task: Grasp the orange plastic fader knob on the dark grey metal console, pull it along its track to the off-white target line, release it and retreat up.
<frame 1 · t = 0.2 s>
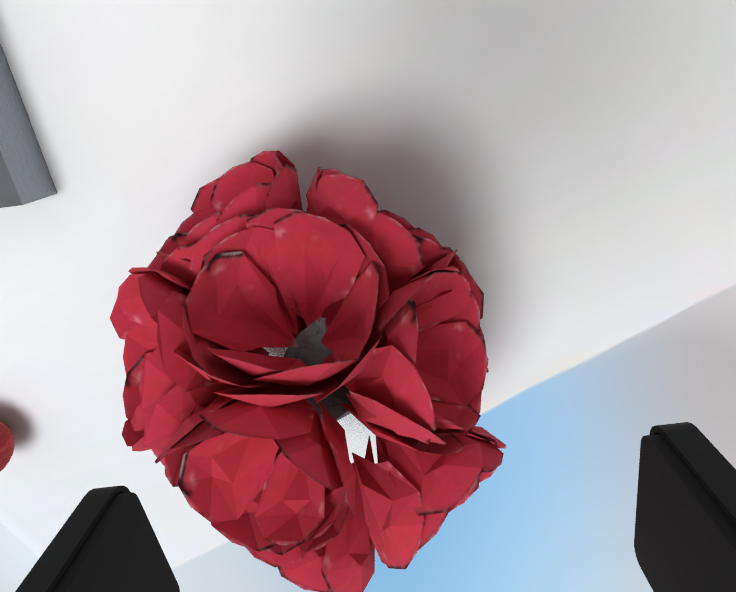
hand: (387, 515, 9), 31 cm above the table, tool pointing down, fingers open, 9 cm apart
onion: (4, 423, 48), on the table
bouquet: (345, 312, 42), on the table
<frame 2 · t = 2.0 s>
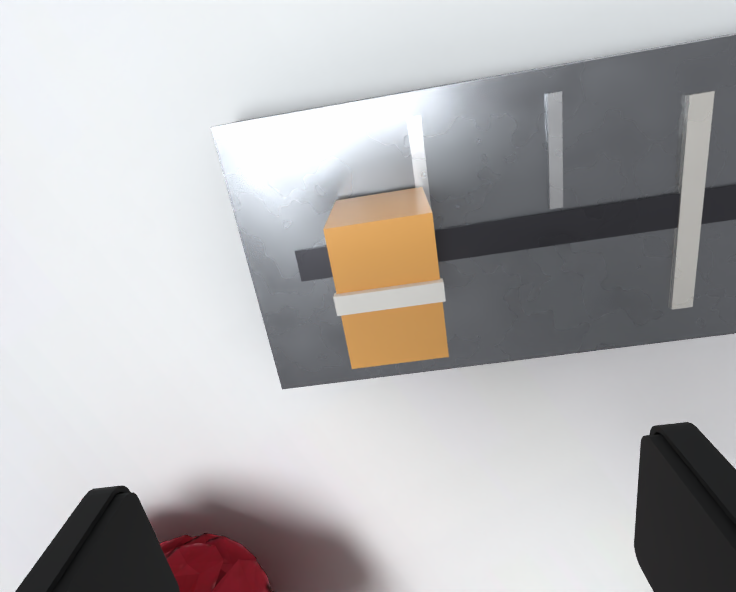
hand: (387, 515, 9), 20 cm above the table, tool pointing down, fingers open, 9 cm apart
fader knob: (388, 274, 21), point 7 cm above the table, slide at 8.0 cm
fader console: (531, 208, 27), on the table
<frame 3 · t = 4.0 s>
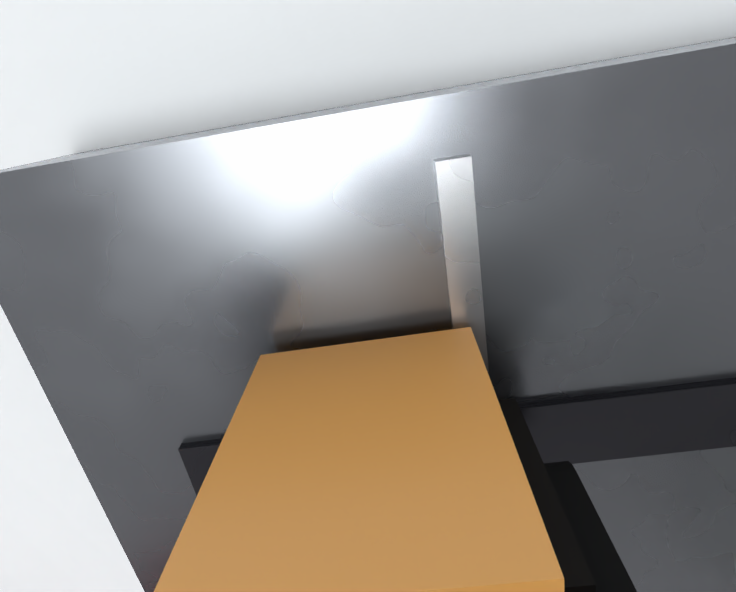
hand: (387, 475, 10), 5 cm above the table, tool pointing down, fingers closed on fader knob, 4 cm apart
fader knob: (389, 582, 8), point 7 cm above the table, slide at 8.0 cm, touching gripper
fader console: (666, 320, 14), on the table
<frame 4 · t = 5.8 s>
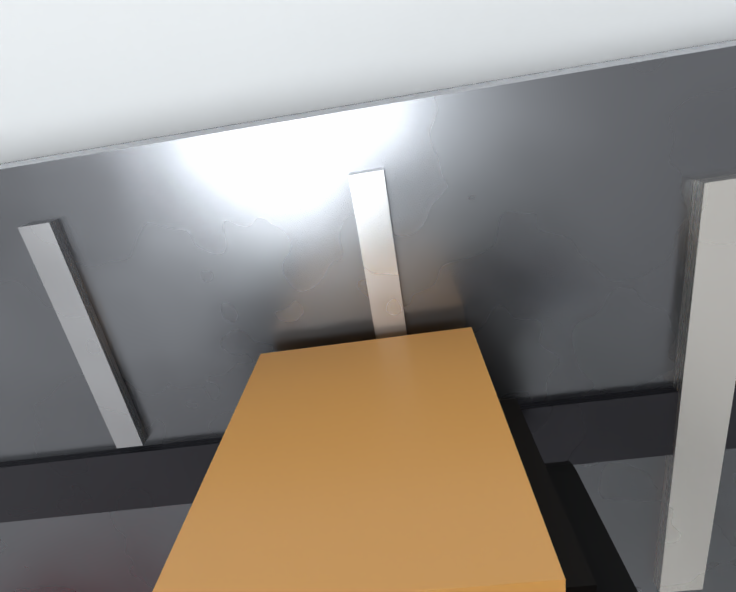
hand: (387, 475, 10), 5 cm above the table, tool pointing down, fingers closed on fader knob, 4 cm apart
fader knob: (388, 582, 8), point 7 cm above the table, slide at 0.5 cm, touching gripper
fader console: (402, 354, 14), on the table
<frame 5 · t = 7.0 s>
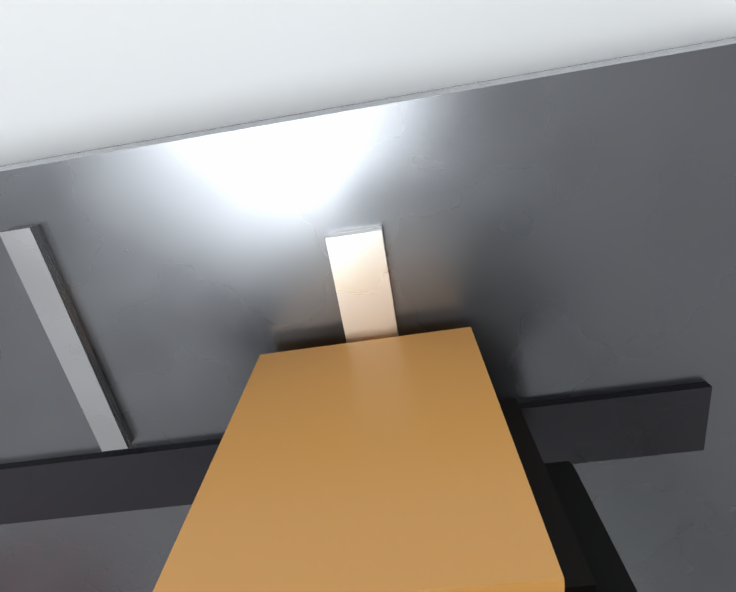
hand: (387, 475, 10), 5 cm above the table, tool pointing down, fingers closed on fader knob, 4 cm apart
fader knob: (388, 582, 8), point 7 cm above the table, slide at -5.9 cm, touching gripper
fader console: (196, 380, 15), on the table
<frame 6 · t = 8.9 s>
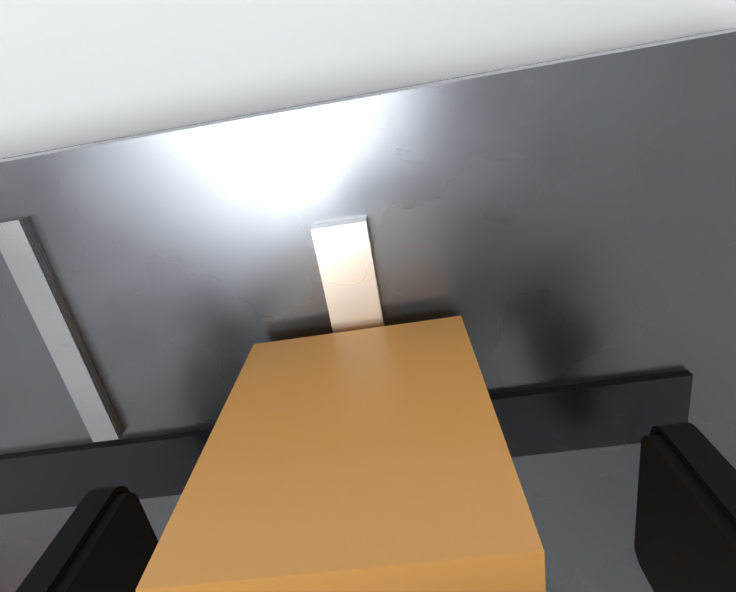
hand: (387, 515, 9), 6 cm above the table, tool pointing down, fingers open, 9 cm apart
fader knob: (380, 565, 8), point 7 cm above the table, slide at -6.0 cm
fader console: (188, 374, 15), on the table
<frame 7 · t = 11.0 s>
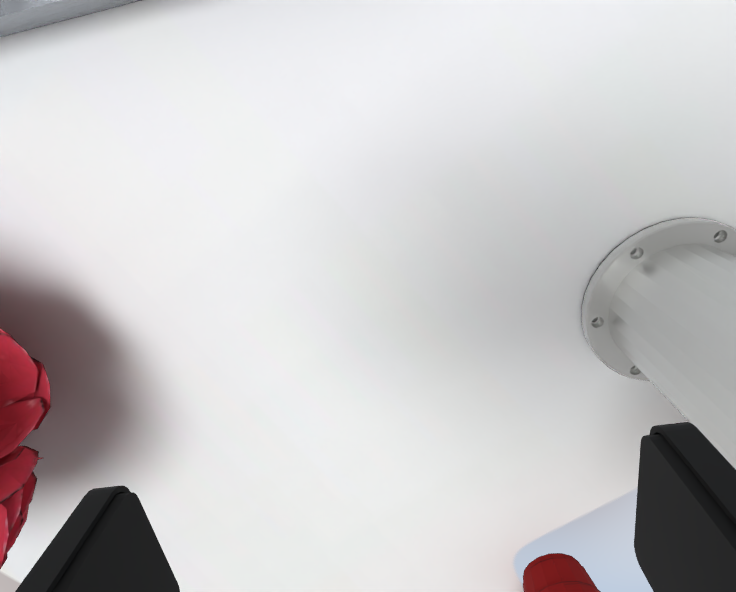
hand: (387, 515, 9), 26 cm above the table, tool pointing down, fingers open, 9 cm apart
plastic cup: (552, 572, 48), on the table
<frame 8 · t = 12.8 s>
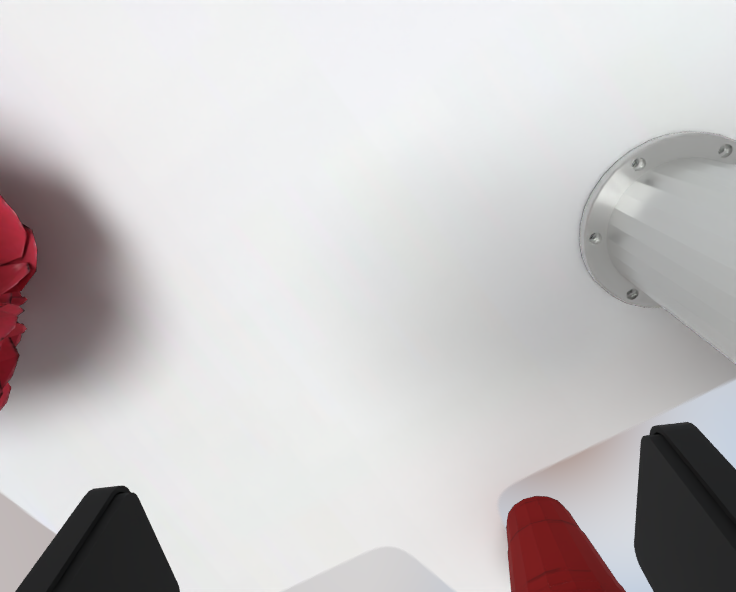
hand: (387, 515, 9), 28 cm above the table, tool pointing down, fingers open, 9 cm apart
plastic cup: (536, 517, 47), on the table
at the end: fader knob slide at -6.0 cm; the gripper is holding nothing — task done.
